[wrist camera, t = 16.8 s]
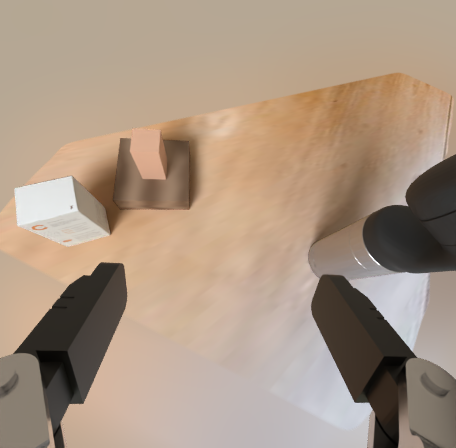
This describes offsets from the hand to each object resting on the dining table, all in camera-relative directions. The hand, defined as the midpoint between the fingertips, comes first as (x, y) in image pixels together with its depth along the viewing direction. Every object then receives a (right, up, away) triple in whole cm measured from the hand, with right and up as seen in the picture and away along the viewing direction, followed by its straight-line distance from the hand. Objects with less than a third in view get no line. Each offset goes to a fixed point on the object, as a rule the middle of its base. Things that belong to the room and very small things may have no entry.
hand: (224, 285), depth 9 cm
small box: (-28, +2, +36) cm, 46 cm away
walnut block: (-15, +12, +42) cm, 46 cm away
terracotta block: (-14, +14, +37) cm, 42 cm away
